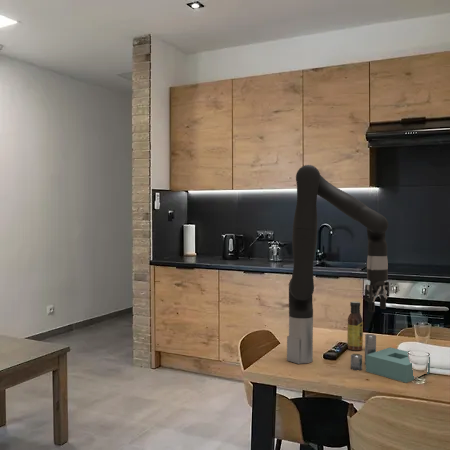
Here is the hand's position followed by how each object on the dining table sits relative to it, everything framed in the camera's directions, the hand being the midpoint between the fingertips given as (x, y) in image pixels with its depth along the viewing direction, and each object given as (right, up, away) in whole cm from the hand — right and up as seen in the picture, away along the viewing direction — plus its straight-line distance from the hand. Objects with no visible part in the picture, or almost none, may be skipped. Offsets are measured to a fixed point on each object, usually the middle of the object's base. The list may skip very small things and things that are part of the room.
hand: (377, 310), depth 193 cm
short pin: (-9, -21, -5) cm, 23 cm away
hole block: (+5, -21, -9) cm, 23 cm away
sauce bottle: (-3, -20, +21) cm, 29 cm away
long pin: (-3, -21, +1) cm, 21 cm away
